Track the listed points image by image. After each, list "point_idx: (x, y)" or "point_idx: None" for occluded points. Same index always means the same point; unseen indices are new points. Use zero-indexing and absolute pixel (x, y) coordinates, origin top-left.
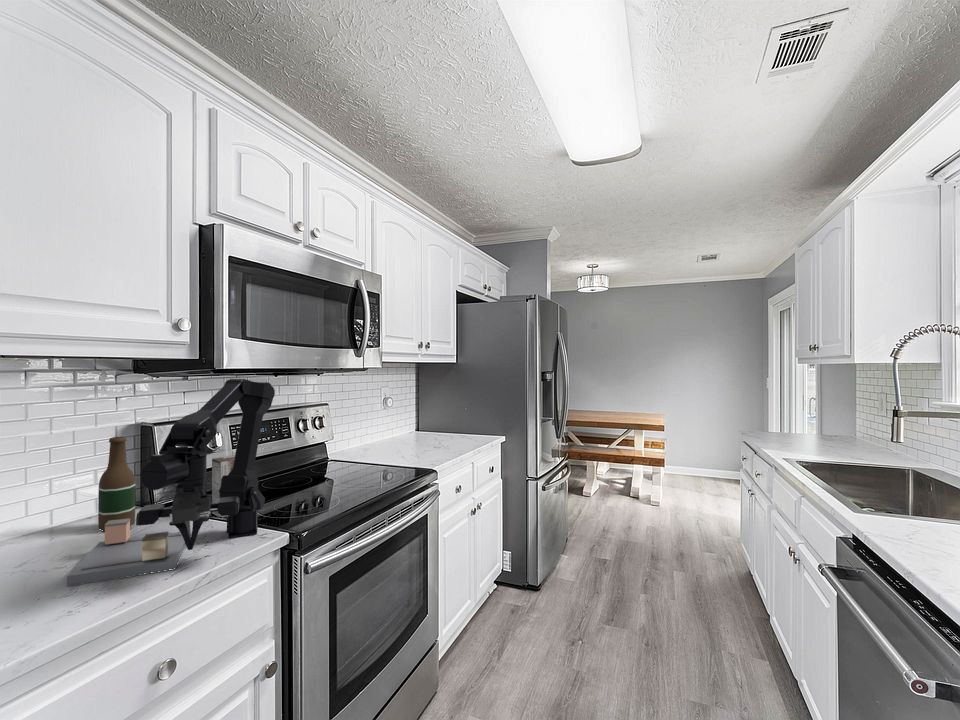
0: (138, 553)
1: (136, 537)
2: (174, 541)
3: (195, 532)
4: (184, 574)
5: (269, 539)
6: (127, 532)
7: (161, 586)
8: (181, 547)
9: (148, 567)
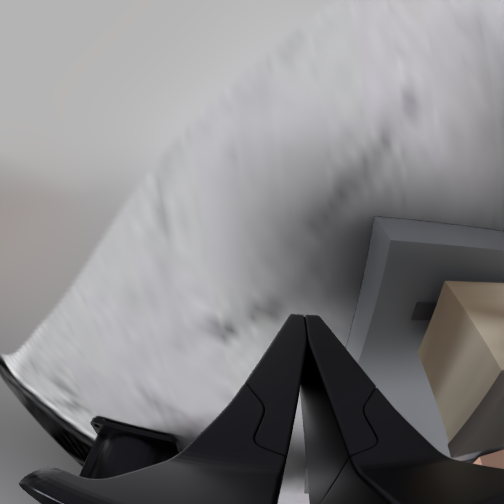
0: None
1: None
2: None
3: (256, 406)
4: (321, 115)
5: (37, 360)
6: None
7: (418, 13)
8: None
9: (496, 242)
